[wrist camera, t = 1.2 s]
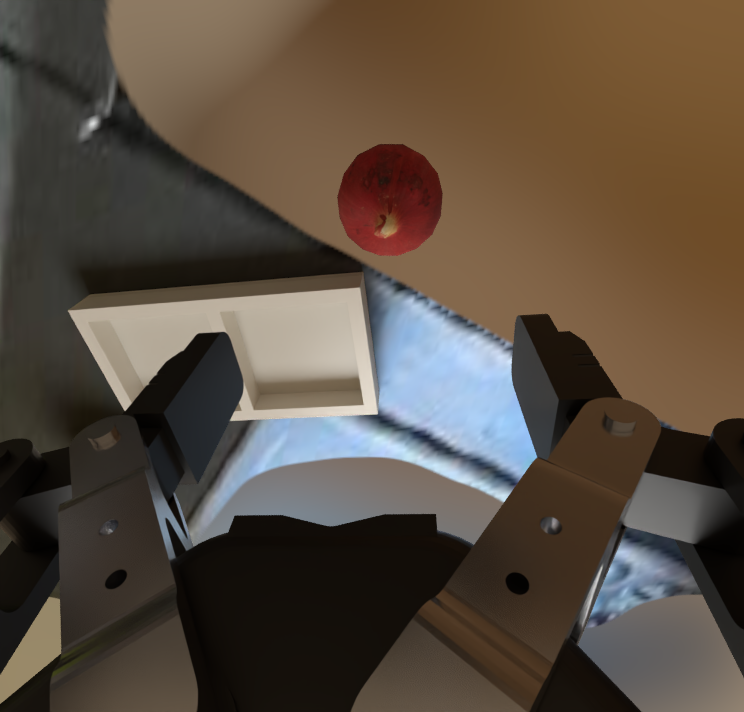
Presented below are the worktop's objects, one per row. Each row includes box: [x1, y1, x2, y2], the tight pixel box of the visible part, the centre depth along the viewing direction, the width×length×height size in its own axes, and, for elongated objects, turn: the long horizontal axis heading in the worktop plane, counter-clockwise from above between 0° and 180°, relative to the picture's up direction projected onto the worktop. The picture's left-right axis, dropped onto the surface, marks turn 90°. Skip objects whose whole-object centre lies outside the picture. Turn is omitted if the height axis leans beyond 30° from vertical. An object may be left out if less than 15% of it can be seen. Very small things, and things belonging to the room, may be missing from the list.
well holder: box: [68, 272, 379, 421], centre depth 34 cm, size 11×21×3 cm, turn 97°
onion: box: [337, 144, 442, 256], centre depth 24 cm, size 6×6×8 cm
